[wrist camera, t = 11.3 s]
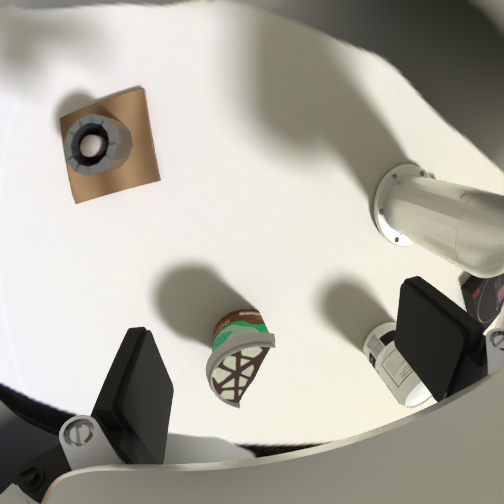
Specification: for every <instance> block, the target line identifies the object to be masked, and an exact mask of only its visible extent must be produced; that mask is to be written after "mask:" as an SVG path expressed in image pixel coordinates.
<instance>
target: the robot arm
mask: <svg viewBox="0 0 504 504" xmlns="http://www.w3.org/2000/svg"><path fill="white" fill-rule="evenodd" d="M374 217H375V222H376V225H377V228H378V229H379V231H380V233H381V234H382V235H383V237H384V238H385V239H387V240H388V241H389V242H391V243H393V244H395V245H398V246H410V245H413V244H417V245H419V246H421V247H423V248H425V249H427V250H428V251H430V252H432V253H434V254H436V255H438V256H440V257H441V258H443V259H445V260H447V261H449V262H450V263H452V264H454V265H456V266H457V267H459V268H461V269H463V270H464V271H466V272H468V273H470V274H472V275H474V276H476V277H479V278H491V277H495V276H498V275H500V274H502V273H504V196H503V195H499V194H495V193H492V192H488V191H484V190H480V189H476V188H472V187H468V186H464V185H459V184H455V183H450V182H446V181H441V180H436V179H432V178H431V177H430V175H429V174H428V173H427V172H426V171H425V170H424V169H422V168H421V167H419V166H416V165H411V164H403V165H399V166H396V167H394V168H393V169H391V170H390V171H389V172H388V173H387V174H386V175H385V176H384V177H383V179H382V180H381V182H380V184H379V186H378V188H377V191H376V194H375V199H374ZM484 328H485V327H484V326H483V325H482V324H481V323H479V322H478V321H477V320H476V319H474V318H473V317H472V316H471V315H470V314H468V313H467V312H466V311H465V310H463V309H462V308H461V307H459V306H458V305H457V304H456V303H454V302H453V301H452V300H450V299H449V298H448V297H447V296H445V295H444V294H443V293H441V292H440V291H439V290H437V289H436V288H435V287H433V286H432V285H431V284H429V283H428V282H427V281H425V280H424V279H422V278H421V277H419V276H416V277H412V278H408V279H406V280H405V281H404V283H403V284H402V285H401V288H400V298H399V307H398V315H397V323H396V330H395V337H394V344H395V347H396V349H397V350H398V351H399V353H400V354H401V355H402V356H403V358H404V359H405V360H406V362H407V363H408V364H409V365H410V367H411V368H412V369H413V371H414V372H415V373H416V375H417V376H418V377H419V378H420V380H421V381H422V382H423V384H424V385H425V386H426V388H427V389H428V390H429V392H430V393H431V394H432V396H433V397H434V398H435V400H436V401H437V402H438V403H436V404H434V405H432V406H429V407H427V408H425V409H423V410H421V411H419V412H416V413H414V414H412V415H409V416H407V417H405V418H402V419H400V420H397V421H395V422H392V423H390V424H387V425H384V426H382V427H379V428H376V429H373V430H370V431H368V432H365V433H362V434H359V435H355V436H352V437H349V438H346V439H342V440H339V441H335V442H332V443H328V444H324V445H320V446H316V447H312V448H308V449H303V450H299V451H294V452H289V453H284V454H279V455H273V456H267V457H260V458H254V459H247V460H237V461H228V462H217V463H200V464H178V465H177V464H174V465H172V464H171V465H162V464H163V462H164V455H165V447H166V440H167V432H168V425H169V418H170V412H171V405H172V399H173V392H174V390H173V384H172V382H171V379H170V377H169V375H168V372H167V370H166V368H165V365H164V363H163V360H162V358H161V356H160V353H159V351H158V348H157V345H156V343H155V340H154V338H153V335H152V333H151V331H150V330H146V328H145V327H137V328H129V329H128V331H127V333H126V335H125V337H124V339H123V341H122V343H121V346H120V348H119V350H118V352H117V354H116V356H115V359H114V361H113V363H112V365H111V368H110V370H109V372H108V374H107V377H106V379H105V381H104V384H103V386H102V389H101V391H100V393H99V396H98V398H97V401H96V403H95V406H94V408H93V411H92V413H91V416H87V415H78V416H75V417H73V418H71V419H69V420H68V421H67V422H66V423H65V424H64V425H63V426H62V428H61V430H60V434H59V438H60V442H61V443H60V444H59V445H57V446H55V447H53V448H52V449H50V450H48V451H46V452H44V453H43V454H41V455H39V456H37V457H35V458H33V459H31V460H30V461H28V462H26V463H25V464H23V465H22V466H21V467H20V469H19V471H18V473H17V485H14V484H13V483H12V484H11V485H10V486H9V487H8V488H7V489H6V490H5V491H4V492H3V493H2V494H1V495H0V504H504V303H503V306H502V309H501V312H500V315H499V317H498V320H497V323H496V325H495V329H492V330H490V331H489V332H488V333H487V334H486V336H484V335H483V331H484Z"/></svg>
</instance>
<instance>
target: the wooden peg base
mask: <svg viewBox="0 0 504 504" xmlns="http://www.w3.org/2000/svg"><path fill="white" fill-rule="evenodd" d="M90 114H96V115H100V116H104V117H108V118H111V119H114V120H117V121H120V122H122V123H123V124H124V125H125V126H126V127H127V128H128V129H129V130H130V132H131V137H132V142H133V147H132V150H131V153H130V156H129V159H128V160H127V161H126V162H125V163H124V164H123V165H122V166H121V167H120V168H118V169H115V170H112V171H108V172H104V173H99V174H94V175H89V176H87V175H84V174H80V173H77V172H75V171H74V170H73V169H72V168H71V167H70V165H69V164H68V163H67V167H68V173H69V178H70V182H71V187H72V192H73V196H74V200H75V204H78V203H81V202H84V201H88V200H91V199H94V198H98V197H101V196H104V195H108V194H111V193H115V192H118V191H122V190H125V189H129V188H133V187H137V186H140V185H144V184H148V183H152V182H156V181H160V180H161V179H160V174H159V169H158V164H157V159H156V154H155V149H154V143H153V137H152V132H151V126H150V120H149V113H148V107H147V100H146V93H145V89H144V88H142V89H139V90H135V91H132V92H129V93H125V94H122V95H119V96H116V97H113V98H110V99H107V100H104V101H102V102H99V103H96V104H93V105H91V106H88V107H86V108H83V109H81V110H78V111H76V112H73V113H71V114H68V115H66V116H64V117H62V118H60V122H61V130H62V137H63V144H64V143H65V140H66V136H67V133H68V130H69V129H70V128H71V127H72V126H73V125H74V124H75V122H76V121H77V120H78V119H80V118H82V117H85V116H88V115H90ZM108 146H109V138H108V132H107V131H106V130H105V129H102V130H101V131H100V132H99V133H98V134H97V135H88V136H86V137H85V138H84V139H83V140H82V142H81V145H80V149H81V152H82V154H83V155H84V156H87V157H93V156H94V157H95V158H96V159H97V161H98V162H100V161H101V160H102V159H103V158H104V157H105V155H106V153H107V150H108Z"/></svg>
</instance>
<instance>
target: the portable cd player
mask: <svg viewBox="0 0 504 504" xmlns="http://www.w3.org/2000/svg"><path fill="white" fill-rule="evenodd" d="M461 289H462V293H463V297H464V301H465V305H466V309H467V313H468V314H470V315H471V316H472V317H473V318H474V319H476V320H477V321H478V322H479V323H481V324H482V325H483V326H484V327H485V328H484V331H485V330H486V329H487V328H488V327H489V326H490V324H491V323H492V322H493V321H494V320H495V318H496V317H497V316H498V315H499V313H500V312H501V309H502V306H503V303H504V273H502V274H500V275H498V276H495V277H491V278H479V277H476V276H474V275H472V276H471V277H470V278H469V279H468V280H467V281H466V282H465V283H464V285H463V286H462V287H461ZM484 331H483V333H484Z"/></svg>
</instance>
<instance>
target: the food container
mask: <svg viewBox="0 0 504 504" xmlns="http://www.w3.org/2000/svg"><path fill="white" fill-rule="evenodd" d="M270 347H272V348H275V337H274V334H271V333H269V332H268V330H267V327H266V325H265V323H264V321H263V319H262V317H261V315H260V313H259V311H256V310H239V311H235V312H232V313H230V314H228V315H226V316H225V317H223V318H222V319H221V320H220V321H219V323H218V324H217V326H216V327H215V331H214V339H213V351H212V354H211V356H210V357H209V359H208V362H207V365H206V376H207V379H208V382H209V385H210V387H211V389H212V391H213V392H214V393H215V395H216V396H217V397H218V398H219V399H220V400H221V401H223V402H224V403H226V404H228V405H230V406H233V407H236V408H240V404H239V401H240V400H241V398H242V396H243V394H244V392H245V391H246V389H247V388H248V386H249V385H250V384H251V382H252V381H253V379H254V378H255V376H256V374H257V372H258V370H259V367H260V365H261V363H262V361H263V360H264V358H265V356H266V354H267V352H268V351H269V349H270Z"/></svg>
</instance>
